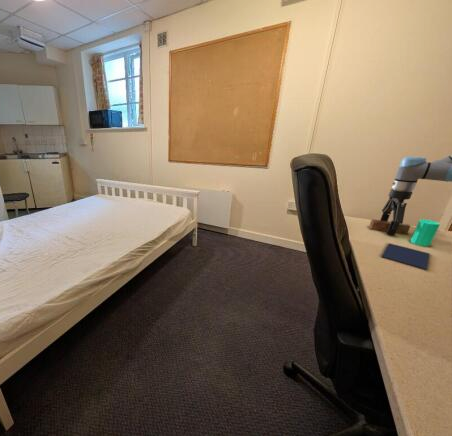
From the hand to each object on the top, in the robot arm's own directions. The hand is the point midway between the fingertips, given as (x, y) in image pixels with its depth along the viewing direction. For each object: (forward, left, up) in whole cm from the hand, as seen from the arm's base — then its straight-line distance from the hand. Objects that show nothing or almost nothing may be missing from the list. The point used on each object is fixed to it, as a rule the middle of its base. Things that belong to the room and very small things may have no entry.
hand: (385, 230), depth 114 cm
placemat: (+1, +31, 0) cm, 31 cm away
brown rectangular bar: (-1, 0, 0) cm, 1 cm away
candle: (-9, +12, 0) cm, 15 cm away
